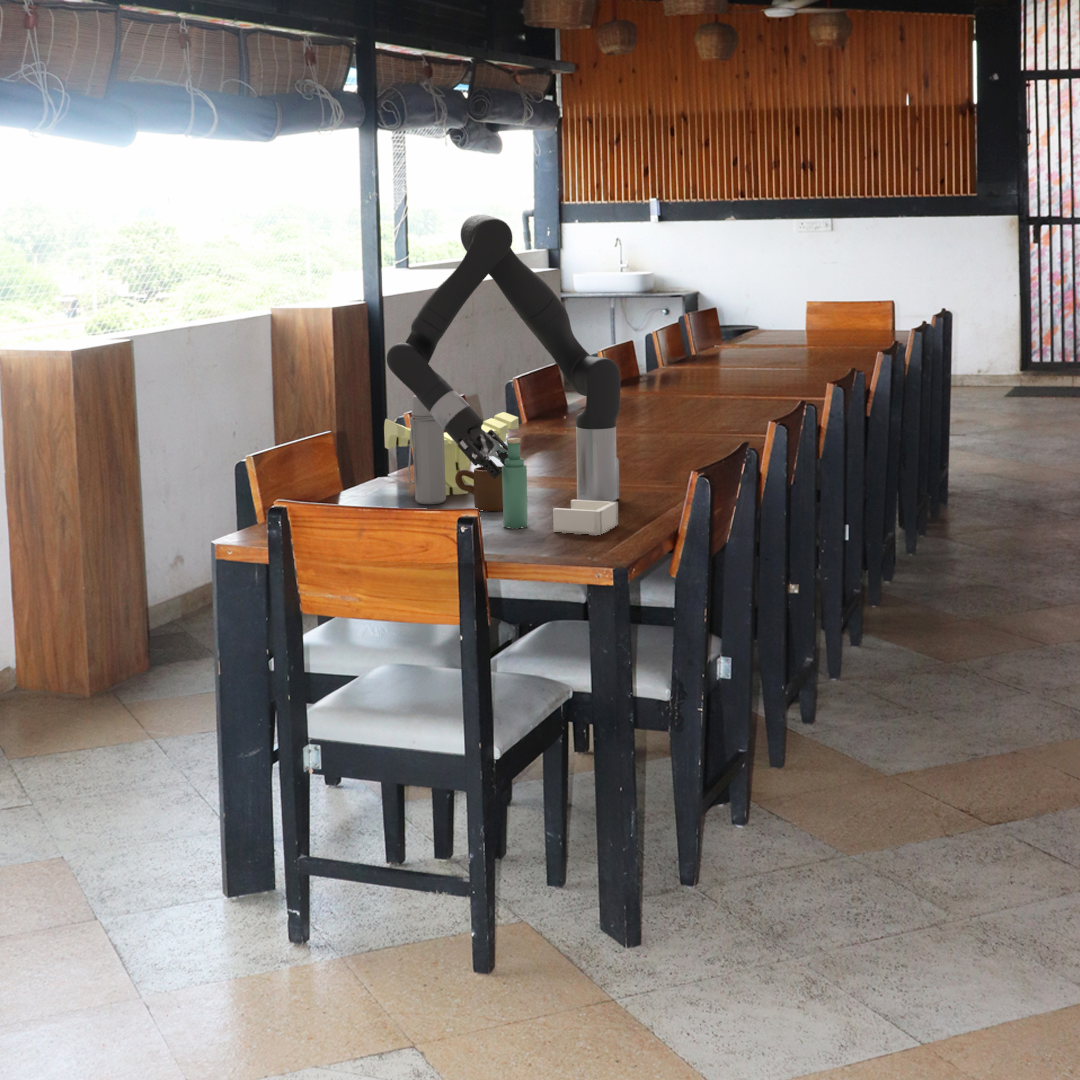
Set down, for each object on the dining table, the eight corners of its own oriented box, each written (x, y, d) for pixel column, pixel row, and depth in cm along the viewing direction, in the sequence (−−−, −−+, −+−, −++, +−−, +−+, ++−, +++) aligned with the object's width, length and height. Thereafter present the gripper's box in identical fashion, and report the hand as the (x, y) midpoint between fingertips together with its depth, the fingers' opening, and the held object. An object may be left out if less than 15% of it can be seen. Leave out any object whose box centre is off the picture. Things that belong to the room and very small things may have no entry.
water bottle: (436, 498, 324) (433, 393, 319) (452, 502, 317) (449, 395, 312) (402, 502, 319) (397, 396, 314) (417, 507, 312) (413, 398, 307)
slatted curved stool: (501, 479, 348) (500, 410, 344) (520, 489, 333) (518, 417, 330) (386, 488, 339) (383, 417, 336) (399, 498, 324) (396, 424, 321)
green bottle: (515, 523, 292) (513, 436, 288) (532, 526, 289) (531, 438, 285) (498, 527, 288) (496, 439, 284) (516, 530, 285) (514, 441, 281)
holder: (553, 532, 282) (553, 509, 280) (573, 522, 292) (572, 499, 291) (599, 535, 278) (599, 511, 277) (618, 525, 288) (617, 501, 287)
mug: (452, 511, 306) (450, 470, 305) (460, 505, 314) (459, 465, 312) (503, 512, 304) (502, 471, 302) (511, 506, 311) (510, 466, 310)
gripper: (452, 408, 281) (504, 466, 279) (481, 401, 294) (531, 456, 292) (430, 433, 284) (481, 490, 282) (460, 425, 297) (509, 479, 295)
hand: (507, 472), depth 287 cm, fingers open, 8 cm apart
